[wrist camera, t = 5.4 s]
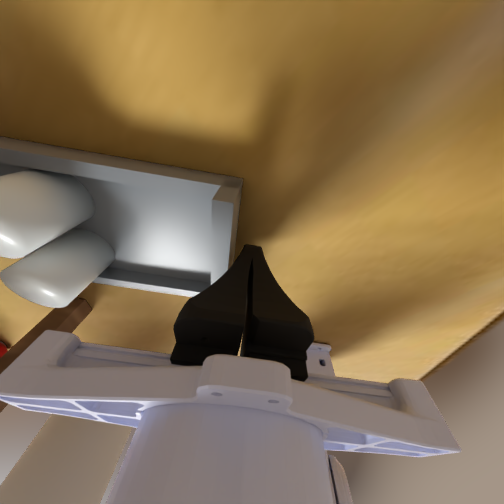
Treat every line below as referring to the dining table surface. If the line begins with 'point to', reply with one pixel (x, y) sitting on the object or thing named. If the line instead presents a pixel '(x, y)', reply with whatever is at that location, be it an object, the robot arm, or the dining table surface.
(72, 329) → the wooden side table
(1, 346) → the beverage can
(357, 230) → the dining table surface
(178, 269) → the tray
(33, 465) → the cylinder vase
